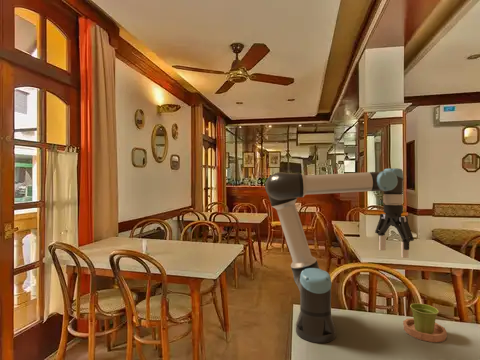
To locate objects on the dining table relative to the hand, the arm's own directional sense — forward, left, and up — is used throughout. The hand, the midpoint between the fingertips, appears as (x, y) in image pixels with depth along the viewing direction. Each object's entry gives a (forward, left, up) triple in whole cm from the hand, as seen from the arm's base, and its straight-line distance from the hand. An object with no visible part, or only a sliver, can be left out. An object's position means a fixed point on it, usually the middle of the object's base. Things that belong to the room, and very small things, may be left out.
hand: (393, 253), depth 126 cm
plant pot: (+10, -8, -27) cm, 30 cm away
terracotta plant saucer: (+10, -8, -28) cm, 31 cm away
